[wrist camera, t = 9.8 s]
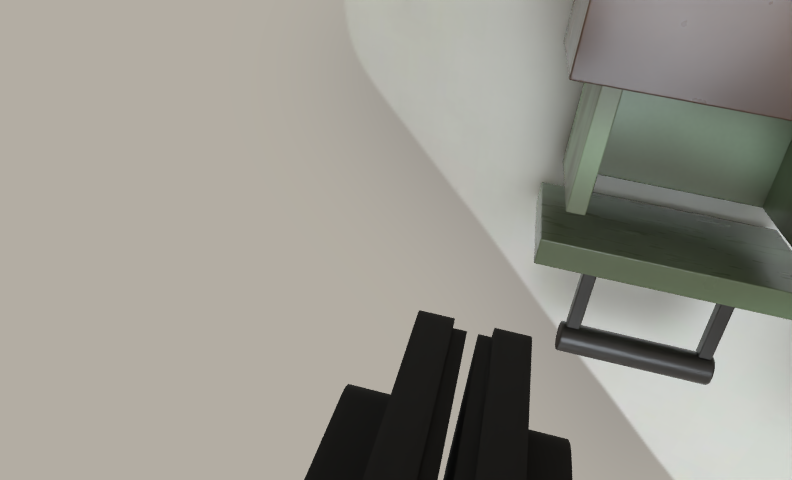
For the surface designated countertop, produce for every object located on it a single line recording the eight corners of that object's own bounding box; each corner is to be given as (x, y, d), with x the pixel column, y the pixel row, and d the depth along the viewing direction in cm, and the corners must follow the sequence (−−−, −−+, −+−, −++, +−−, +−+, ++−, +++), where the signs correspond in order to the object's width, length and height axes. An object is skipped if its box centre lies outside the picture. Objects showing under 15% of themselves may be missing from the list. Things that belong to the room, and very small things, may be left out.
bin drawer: (728, 337, 35) (765, 423, 29) (513, 288, 36) (507, 361, 30) (901, -44, 26) (1005, -34, 20) (612, -89, 28) (630, -92, 22)
